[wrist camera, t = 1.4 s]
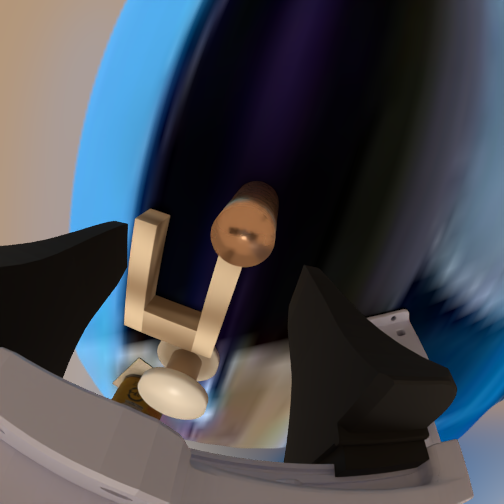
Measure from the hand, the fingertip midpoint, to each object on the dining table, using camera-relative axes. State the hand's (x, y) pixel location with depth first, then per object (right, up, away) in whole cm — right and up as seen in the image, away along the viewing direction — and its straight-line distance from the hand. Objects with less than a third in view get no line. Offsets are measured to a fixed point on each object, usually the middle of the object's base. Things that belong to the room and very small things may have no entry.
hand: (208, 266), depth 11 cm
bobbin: (-4, -9, +15) cm, 18 cm away
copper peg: (+2, +4, +9) cm, 10 cm away
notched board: (-4, -2, +12) cm, 12 cm away
